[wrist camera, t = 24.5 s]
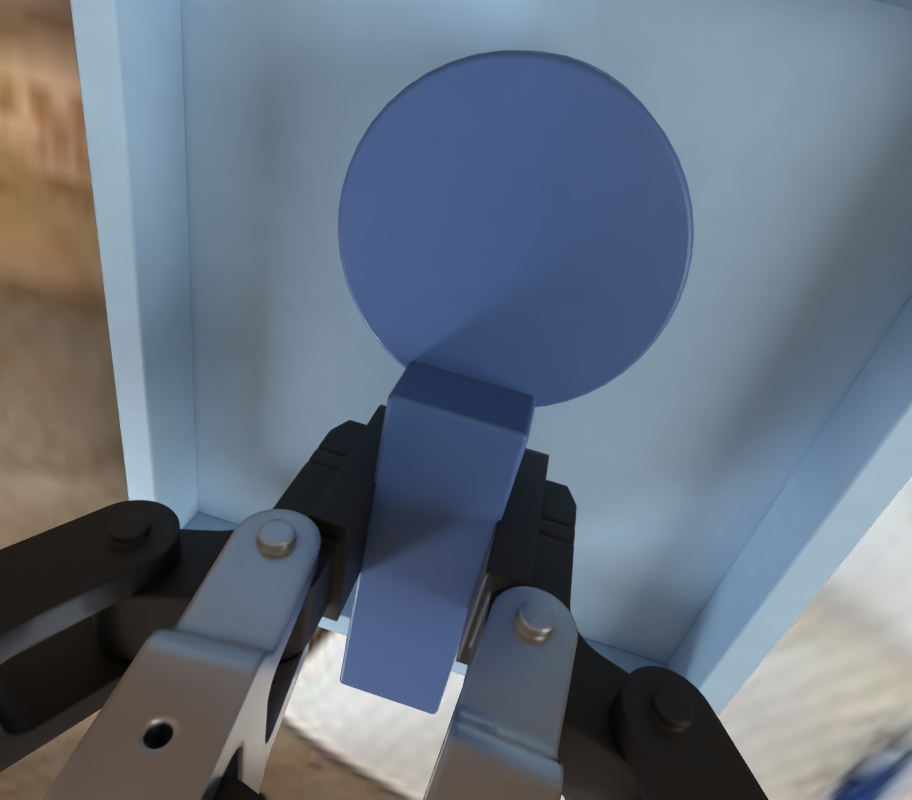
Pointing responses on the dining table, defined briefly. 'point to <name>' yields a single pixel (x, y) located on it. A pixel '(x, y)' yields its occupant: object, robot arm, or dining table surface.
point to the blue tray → (563, 424)
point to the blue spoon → (491, 314)
